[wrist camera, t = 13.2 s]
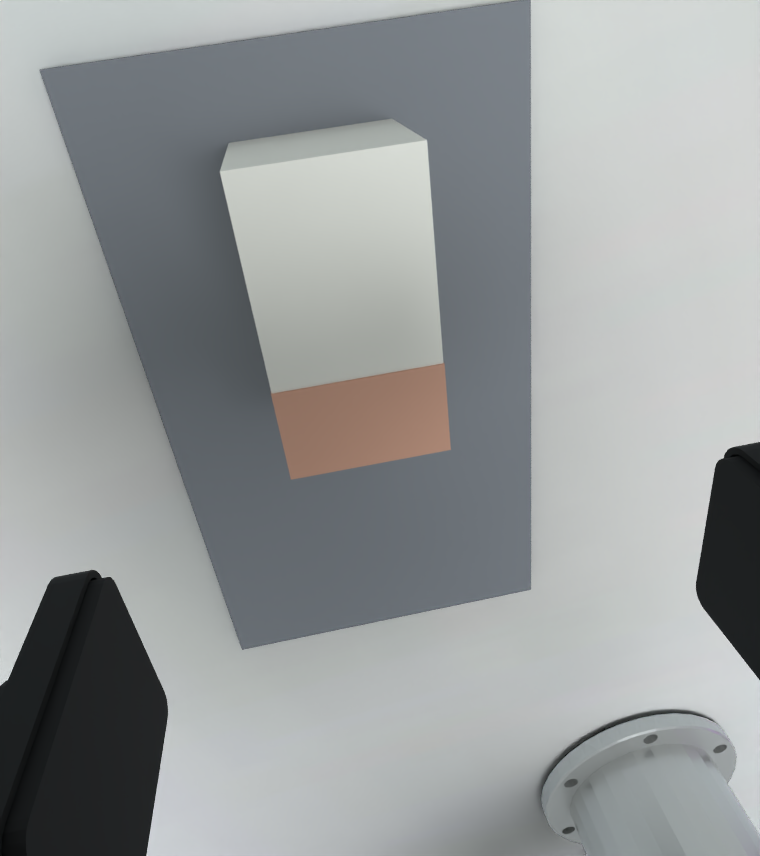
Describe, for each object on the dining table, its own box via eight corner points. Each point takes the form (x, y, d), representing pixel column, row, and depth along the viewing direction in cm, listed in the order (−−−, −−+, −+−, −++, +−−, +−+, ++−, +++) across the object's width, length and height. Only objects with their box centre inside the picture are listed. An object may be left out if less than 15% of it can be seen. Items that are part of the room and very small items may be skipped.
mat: (528, 583, 32) (530, 589, 32) (242, 642, 31) (242, 649, 31) (525, -1, 19) (530, -2, 19) (43, 69, 18) (39, 69, 18)
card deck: (392, 118, 20) (428, 140, 16) (417, 378, 25) (451, 449, 20) (227, 142, 20) (218, 172, 15) (285, 402, 24) (291, 479, 20)
